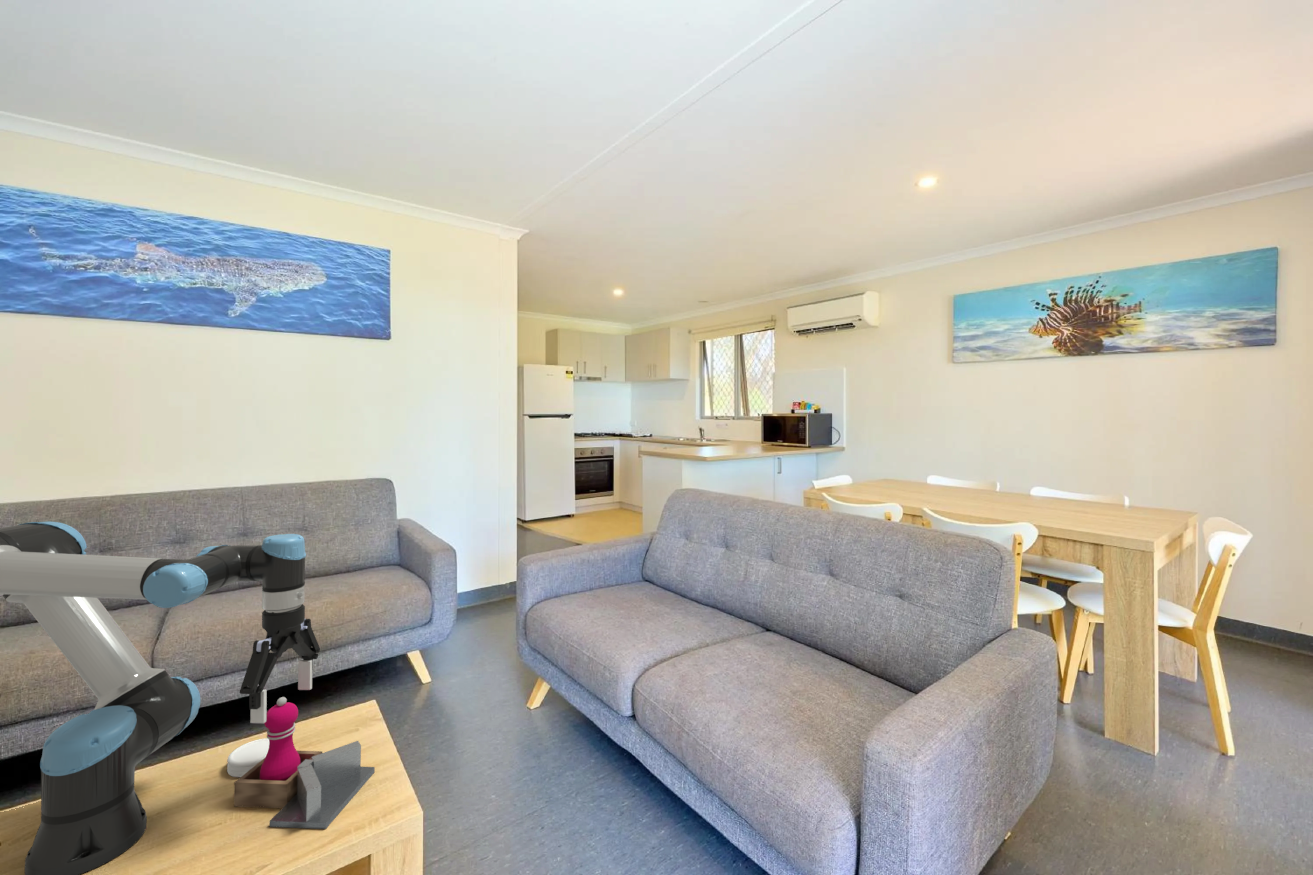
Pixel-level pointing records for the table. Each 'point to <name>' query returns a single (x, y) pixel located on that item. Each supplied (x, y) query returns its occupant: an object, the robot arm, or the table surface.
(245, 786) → the wooden square frame
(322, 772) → the v block
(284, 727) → the pepper mill
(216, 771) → the table surface
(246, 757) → the coaster
